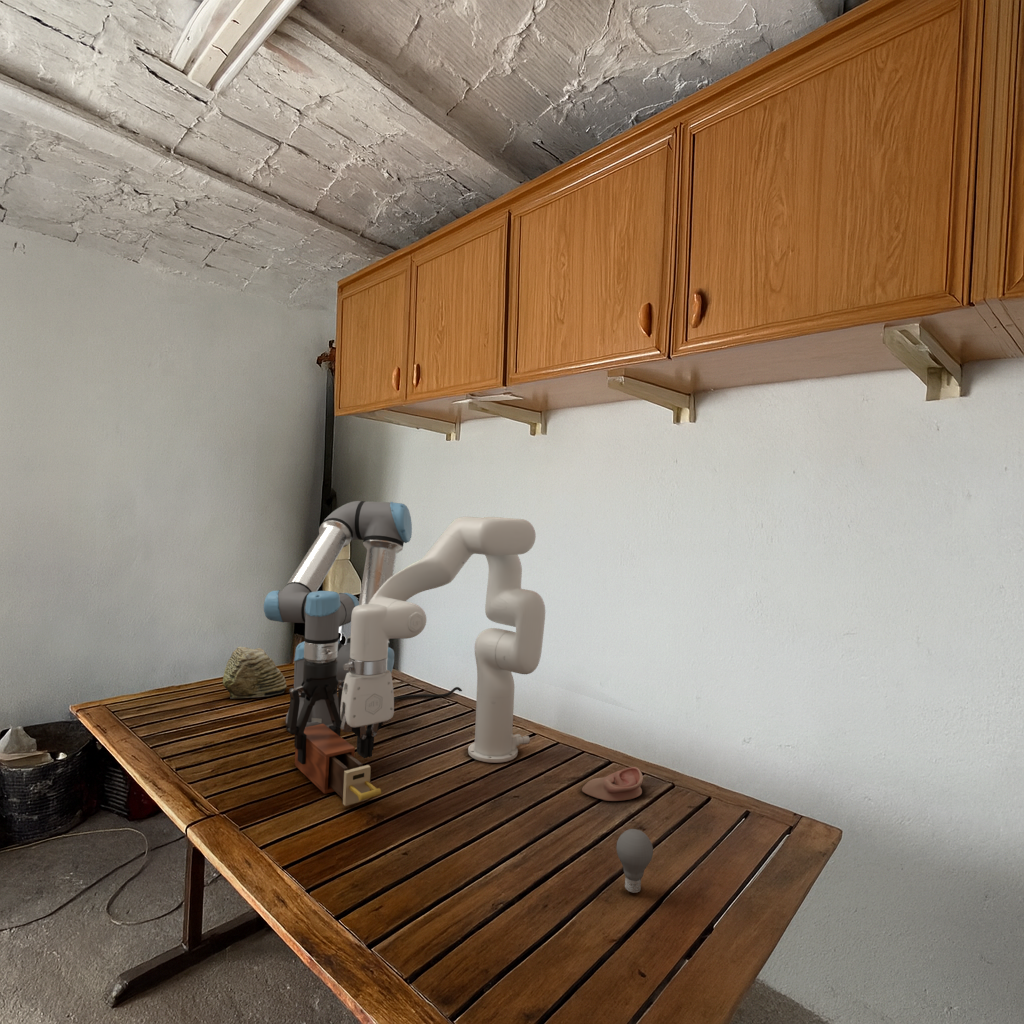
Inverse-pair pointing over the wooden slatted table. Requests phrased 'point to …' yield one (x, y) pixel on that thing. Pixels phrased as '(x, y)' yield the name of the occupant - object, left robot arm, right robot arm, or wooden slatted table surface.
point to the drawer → (350, 779)
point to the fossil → (252, 674)
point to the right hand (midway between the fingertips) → (364, 755)
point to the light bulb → (634, 857)
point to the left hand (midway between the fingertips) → (317, 758)
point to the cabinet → (321, 754)
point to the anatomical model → (616, 785)
